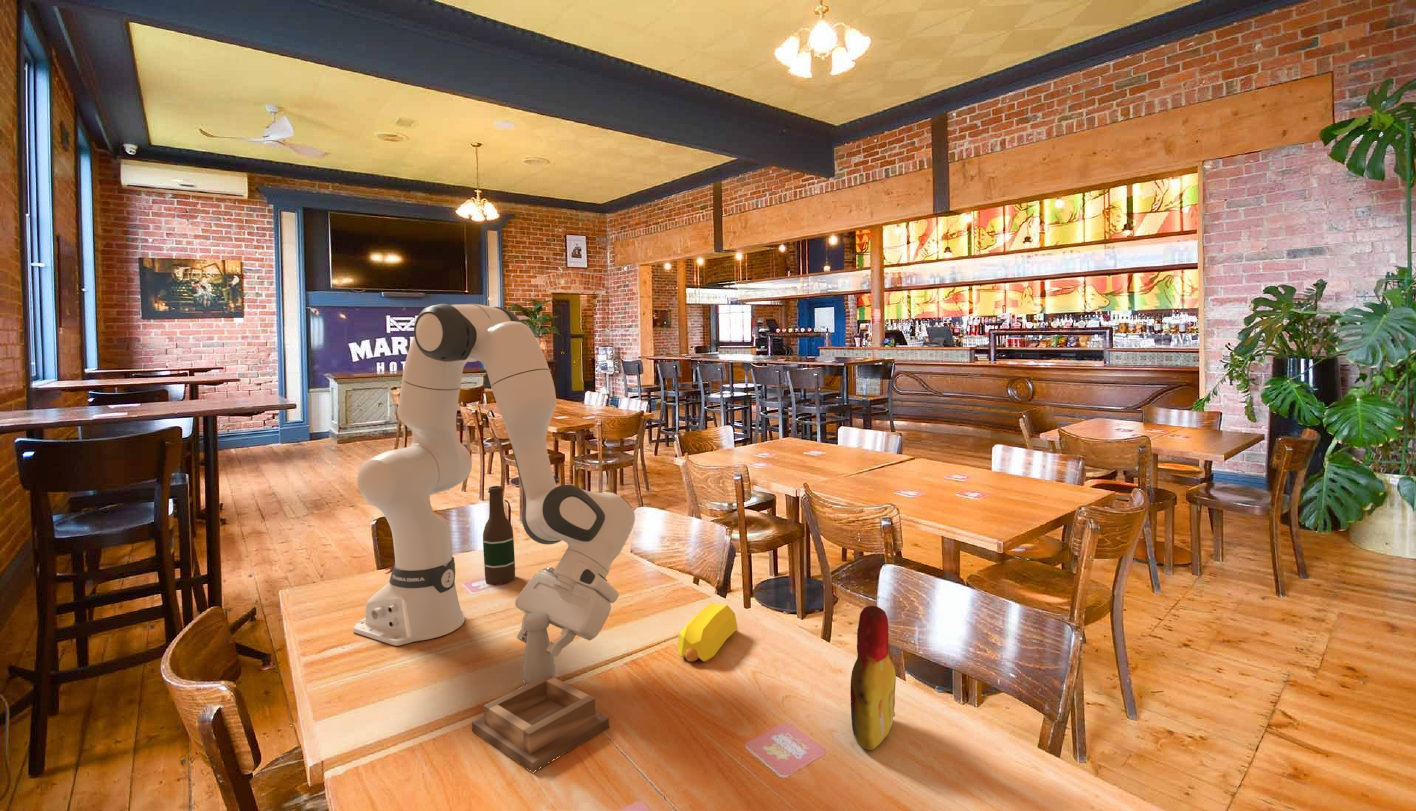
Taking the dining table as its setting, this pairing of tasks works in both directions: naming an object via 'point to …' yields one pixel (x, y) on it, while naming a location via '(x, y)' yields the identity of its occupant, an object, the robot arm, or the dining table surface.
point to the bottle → (872, 680)
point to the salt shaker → (537, 648)
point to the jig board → (540, 721)
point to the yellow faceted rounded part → (706, 632)
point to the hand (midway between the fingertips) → (535, 647)
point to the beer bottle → (498, 542)
